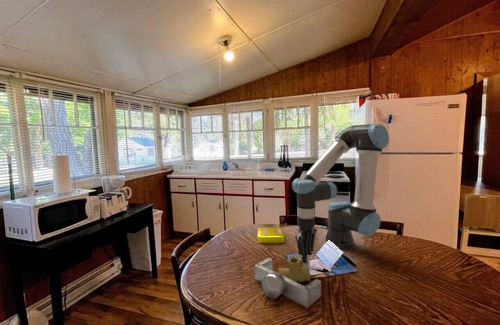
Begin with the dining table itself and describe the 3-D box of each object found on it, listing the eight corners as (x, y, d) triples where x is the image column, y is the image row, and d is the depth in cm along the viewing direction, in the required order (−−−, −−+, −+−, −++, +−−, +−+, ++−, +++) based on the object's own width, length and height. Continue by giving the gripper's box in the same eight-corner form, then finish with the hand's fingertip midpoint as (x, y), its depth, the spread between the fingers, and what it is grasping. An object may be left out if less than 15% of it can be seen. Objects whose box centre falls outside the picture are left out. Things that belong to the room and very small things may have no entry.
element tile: (284, 243, 140) (284, 235, 139) (257, 244, 140) (257, 236, 140) (282, 233, 154) (281, 226, 154) (258, 234, 155) (257, 226, 155)
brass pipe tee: (310, 287, 99) (309, 270, 109) (309, 264, 97) (308, 249, 106) (279, 286, 102) (280, 270, 111) (276, 264, 99) (278, 250, 109)
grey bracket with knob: (269, 270, 111) (268, 253, 110) (320, 296, 92) (320, 275, 91) (246, 283, 102) (245, 265, 101) (298, 315, 83) (298, 292, 82)
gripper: (307, 211, 113) (307, 260, 116) (289, 218, 104) (290, 271, 107) (321, 214, 108) (321, 266, 110) (304, 222, 99) (304, 278, 101)
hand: (306, 268), depth 108 cm, fingers closed
